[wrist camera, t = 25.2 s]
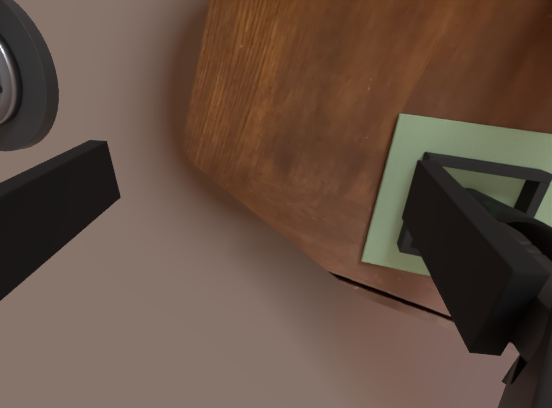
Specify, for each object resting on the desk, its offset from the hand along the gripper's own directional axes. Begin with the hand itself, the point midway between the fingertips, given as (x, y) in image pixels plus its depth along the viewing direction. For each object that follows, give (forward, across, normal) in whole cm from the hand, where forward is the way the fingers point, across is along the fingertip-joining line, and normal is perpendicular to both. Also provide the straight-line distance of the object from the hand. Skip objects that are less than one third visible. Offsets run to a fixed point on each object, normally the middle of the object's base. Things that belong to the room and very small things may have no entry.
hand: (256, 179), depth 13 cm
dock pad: (+23, +22, -13) cm, 34 cm away
